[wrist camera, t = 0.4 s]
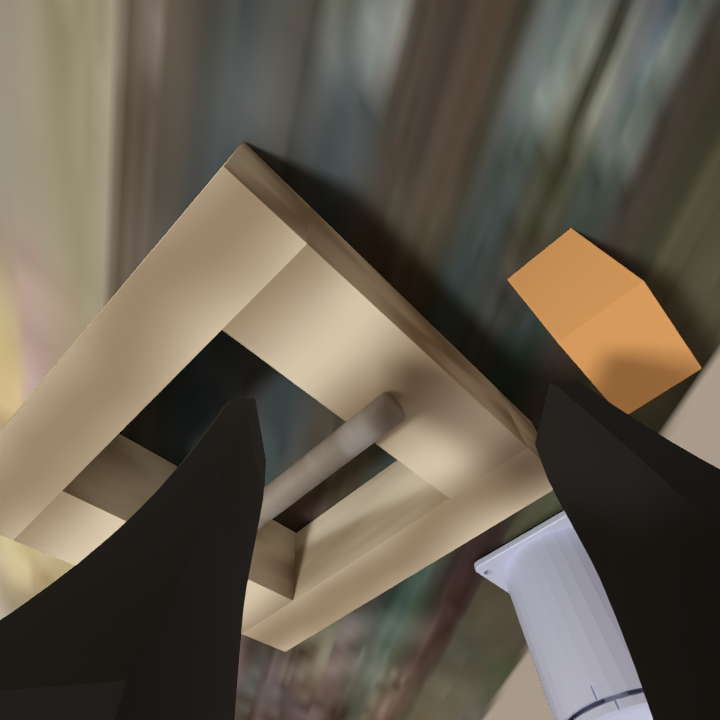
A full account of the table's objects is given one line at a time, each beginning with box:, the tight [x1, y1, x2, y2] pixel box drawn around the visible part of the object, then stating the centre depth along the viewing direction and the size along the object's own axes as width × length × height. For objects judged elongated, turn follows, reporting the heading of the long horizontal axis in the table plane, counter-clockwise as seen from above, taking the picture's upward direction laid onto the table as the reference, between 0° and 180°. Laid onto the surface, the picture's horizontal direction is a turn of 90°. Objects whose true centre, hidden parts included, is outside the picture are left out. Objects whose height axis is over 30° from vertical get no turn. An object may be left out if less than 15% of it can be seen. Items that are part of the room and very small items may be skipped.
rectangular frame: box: [0, 141, 553, 651], centre depth 21 cm, size 18×18×5 cm
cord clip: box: [507, 228, 702, 414], centre depth 18 cm, size 5×3×5 cm, turn 44°
